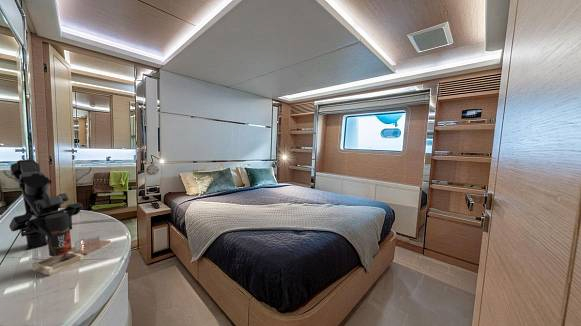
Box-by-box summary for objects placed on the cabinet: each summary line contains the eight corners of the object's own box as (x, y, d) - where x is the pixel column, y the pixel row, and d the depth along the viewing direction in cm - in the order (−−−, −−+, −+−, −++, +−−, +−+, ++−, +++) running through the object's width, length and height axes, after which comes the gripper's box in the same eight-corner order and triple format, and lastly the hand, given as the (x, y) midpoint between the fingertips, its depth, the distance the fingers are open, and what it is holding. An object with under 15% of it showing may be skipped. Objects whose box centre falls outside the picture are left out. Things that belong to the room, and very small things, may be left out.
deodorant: (56, 257, 79) (52, 219, 77) (45, 255, 80) (40, 217, 78) (75, 249, 85) (72, 213, 83) (64, 247, 86) (60, 212, 84)
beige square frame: (32, 270, 78) (32, 264, 78) (67, 256, 88) (67, 250, 88) (49, 275, 75) (49, 269, 75) (83, 260, 85) (83, 254, 85)
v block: (110, 242, 100) (110, 235, 100) (87, 254, 89) (86, 247, 89) (90, 241, 101) (89, 234, 101) (64, 253, 90) (63, 246, 90)
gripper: (9, 194, 72) (32, 230, 70) (78, 183, 89) (97, 212, 88) (-1, 213, 75) (21, 248, 73) (67, 199, 93) (86, 227, 91)
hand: (60, 232), depth 81 cm, fingers closed on deodorant, 6 cm apart
